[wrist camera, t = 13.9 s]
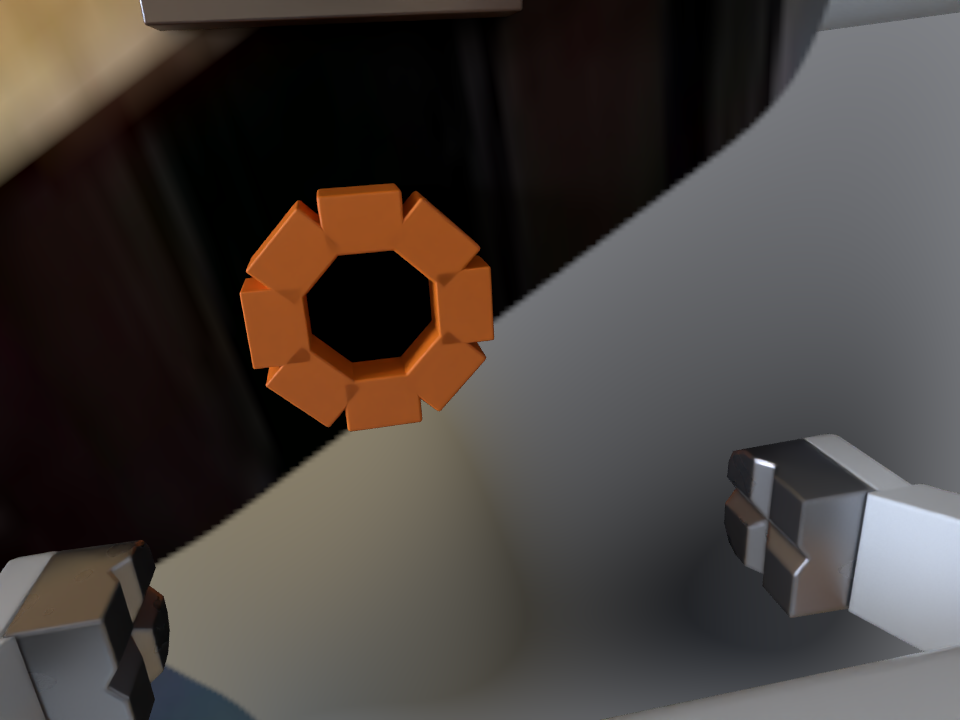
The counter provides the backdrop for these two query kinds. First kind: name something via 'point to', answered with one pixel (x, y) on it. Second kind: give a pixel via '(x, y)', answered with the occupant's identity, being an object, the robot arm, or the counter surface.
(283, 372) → the orange ring
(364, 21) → the spindle
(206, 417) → the counter surface
